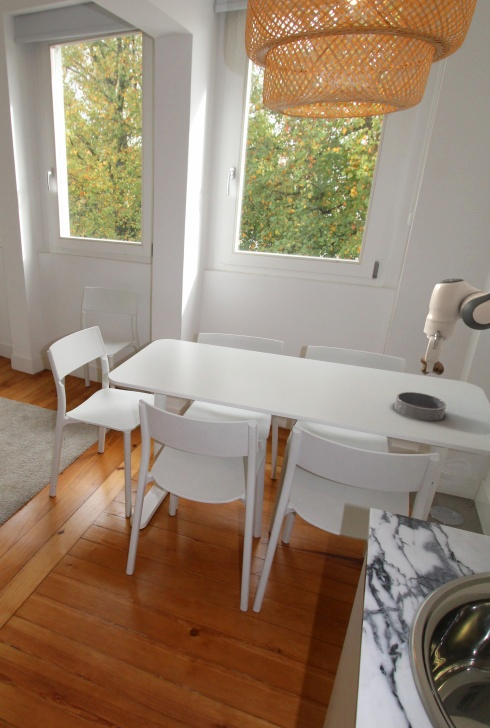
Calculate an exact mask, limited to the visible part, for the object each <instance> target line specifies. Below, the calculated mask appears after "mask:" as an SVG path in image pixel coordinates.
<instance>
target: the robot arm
mask: <svg viewBox="0 0 490 728" xmlns="http://www.w3.org/2000/svg"><path fill="white" fill-rule="evenodd" d="M429 300H430V301H429V305H428V306H429V311H428V314H427V316H426V318H425V323H424V328H423V333H424V334H426V338H427V339H429V340H428V344H427V347H426V352H425V356H424V357H425V361H427V369H426V372H430V373H429V374H432V373H431V372H432V371H433V367H434V364H435V363H437V361H439V359H440V356H441V353H442V350H443V348H444V345H445V344H446V341H449V338H450V337H451V338H452V337H454V336H455V333H456V329H457V326H458V321H459V320H462V322H463V324H464V325H465V326H467V327H468V328H470V329H472V330H476V331H485V330H489V329H490V291H489V292H488V291H484V290H482V289H479V288H477V287H475V286H472V285H471V284H470V283H468V282H466V281H465V279H463V278H447V279H442V280H440V281H439V282H437V283H436V284H435V285H434V288H433V290H432V293H431V296H430V299H429Z"/></svg>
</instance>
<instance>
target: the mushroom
mask: <svg viewBox="0 0 490 728" xmlns="http://www.w3.org/2000/svg"><path fill="white" fill-rule="evenodd" d="M420 363H421V365H422V367H421V368H420V372H421V373H422V374H423V375H424V376H425V375H428V374H432V373H433V374H434V375H436V376H441V375H443V373H444V372H445V368H444V365H443V363H442V362H440V360H438V361H437V363H435V364H434V367H433V371H432V372H431V373H430V372H426V369H427V361H425V356H423V357H422V358H420Z"/></svg>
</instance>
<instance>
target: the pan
mask: <svg viewBox="0 0 490 728" xmlns="http://www.w3.org/2000/svg"><path fill="white" fill-rule="evenodd" d="M446 408H447V403H446V401H444V400H443V399H441V398H439V397H437V396H434V395H431V394H427V393H423V392H415V391H404V392H400V393H398V394H397V395H396V398H395V402H394V410H396V412H398V413H400V414H402V415H403V416H407V417H410V418H413V419H417V420H421V421H422V420H423V421H439V420H442V419H443V418H444V415H445V412H446Z"/></svg>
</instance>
